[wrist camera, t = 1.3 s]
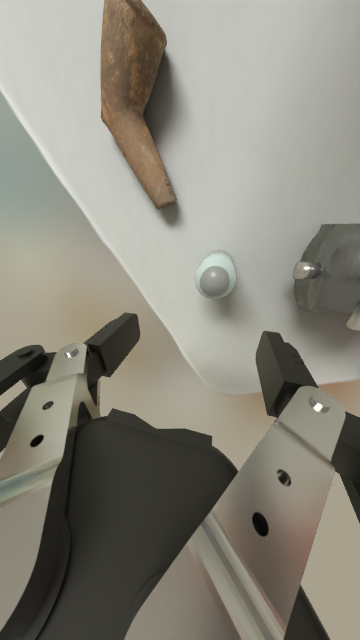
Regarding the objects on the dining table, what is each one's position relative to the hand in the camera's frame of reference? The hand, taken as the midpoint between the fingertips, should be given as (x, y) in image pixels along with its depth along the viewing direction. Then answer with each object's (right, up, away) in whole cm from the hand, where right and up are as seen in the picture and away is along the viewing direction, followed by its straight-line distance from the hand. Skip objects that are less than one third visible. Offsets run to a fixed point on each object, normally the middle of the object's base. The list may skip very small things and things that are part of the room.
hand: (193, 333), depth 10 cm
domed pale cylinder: (+6, +10, +17) cm, 20 cm away
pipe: (-4, +26, +11) cm, 28 cm away
